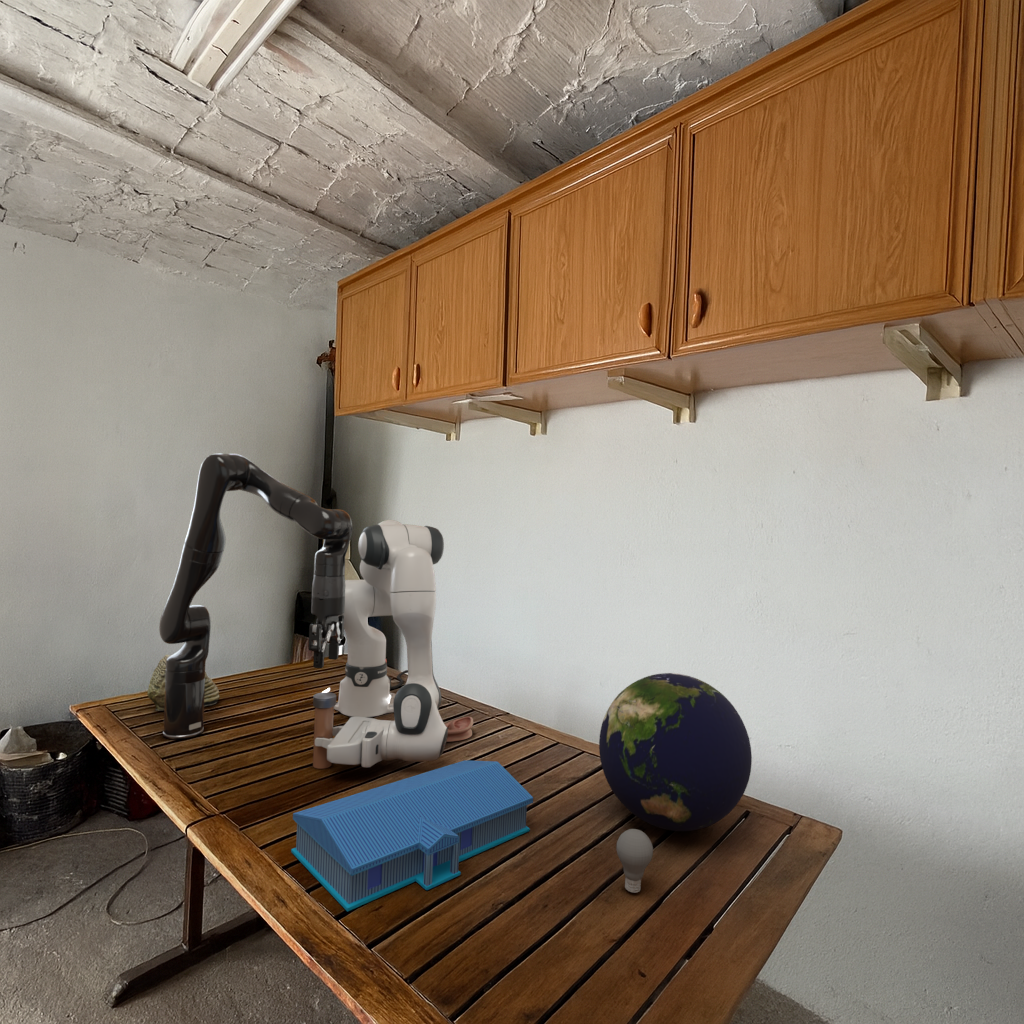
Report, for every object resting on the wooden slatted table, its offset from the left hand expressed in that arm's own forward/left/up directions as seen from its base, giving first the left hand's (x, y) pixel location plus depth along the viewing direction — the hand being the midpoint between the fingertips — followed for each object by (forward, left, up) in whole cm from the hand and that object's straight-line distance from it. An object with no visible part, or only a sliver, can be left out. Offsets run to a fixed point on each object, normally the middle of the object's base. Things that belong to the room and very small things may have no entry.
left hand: (326, 663), depth 149 cm
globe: (+68, +42, -24) cm, 83 cm away
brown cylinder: (0, 0, -24) cm, 24 cm away
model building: (+43, -2, -24) cm, 49 cm away
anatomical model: (+3, +35, -24) cm, 43 cm away
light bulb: (+76, +17, -24) cm, 82 cm away
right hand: (-1, -1, -17) cm, 17 cm away
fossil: (-61, -13, -24) cm, 67 cm away
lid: (0, 0, -8) cm, 8 cm away
